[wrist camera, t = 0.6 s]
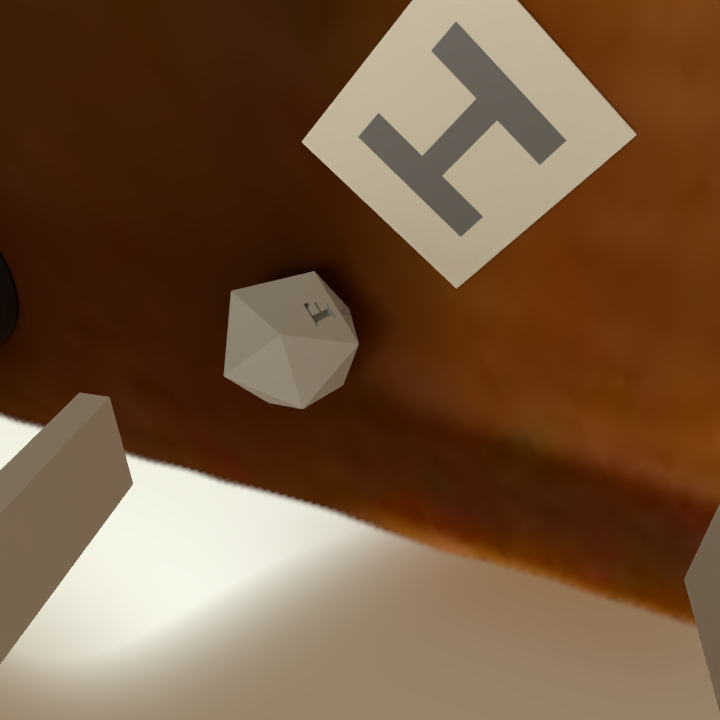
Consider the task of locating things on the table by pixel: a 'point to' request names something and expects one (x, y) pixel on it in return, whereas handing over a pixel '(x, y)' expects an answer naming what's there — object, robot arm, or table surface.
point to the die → (289, 340)
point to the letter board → (466, 129)
